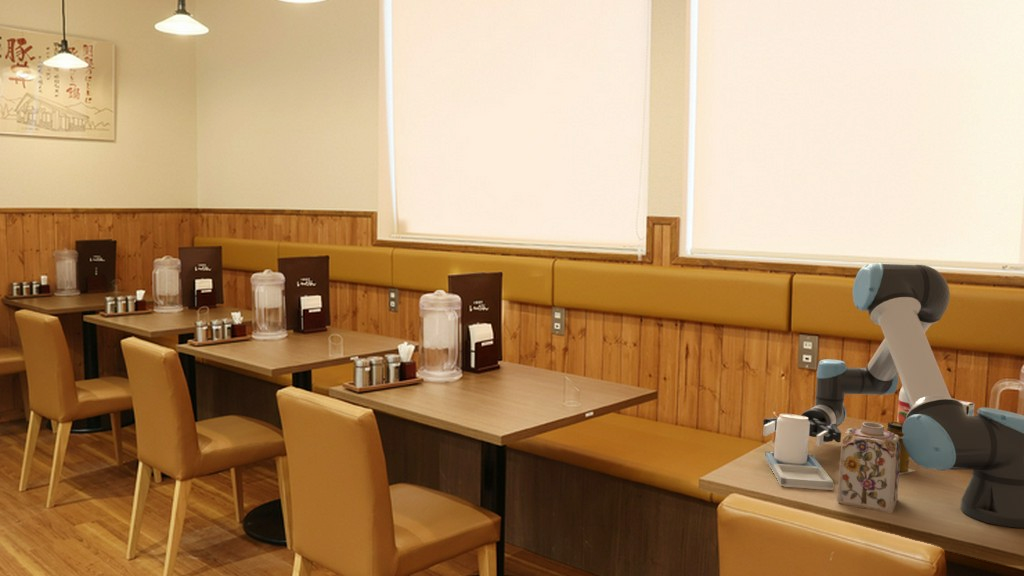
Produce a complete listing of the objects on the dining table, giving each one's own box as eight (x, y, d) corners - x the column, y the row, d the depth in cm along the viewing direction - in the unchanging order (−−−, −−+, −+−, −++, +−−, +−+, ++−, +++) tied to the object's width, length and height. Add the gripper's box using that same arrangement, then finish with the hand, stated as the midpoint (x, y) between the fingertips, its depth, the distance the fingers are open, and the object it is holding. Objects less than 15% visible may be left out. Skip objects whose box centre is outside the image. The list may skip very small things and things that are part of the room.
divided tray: (833, 490, 197) (833, 481, 196) (780, 486, 198) (781, 478, 198) (811, 462, 219) (812, 454, 219) (764, 458, 221) (765, 451, 221)
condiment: (915, 471, 214) (919, 425, 213) (896, 476, 210) (900, 429, 209) (889, 463, 220) (892, 419, 219) (870, 468, 216) (873, 423, 215)
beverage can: (810, 463, 216) (814, 417, 215) (801, 467, 209) (805, 420, 209) (779, 457, 220) (782, 412, 220) (769, 461, 214) (773, 415, 213)
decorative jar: (844, 489, 197) (849, 415, 196) (897, 499, 192) (903, 423, 190) (835, 503, 187) (841, 425, 185) (892, 514, 181) (898, 434, 180)
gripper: (863, 443, 221) (840, 460, 204) (772, 426, 236) (742, 440, 219) (865, 415, 220) (842, 430, 203) (773, 400, 235) (744, 412, 219)
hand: (790, 435), depth 211 cm, fingers open, 13 cm apart
